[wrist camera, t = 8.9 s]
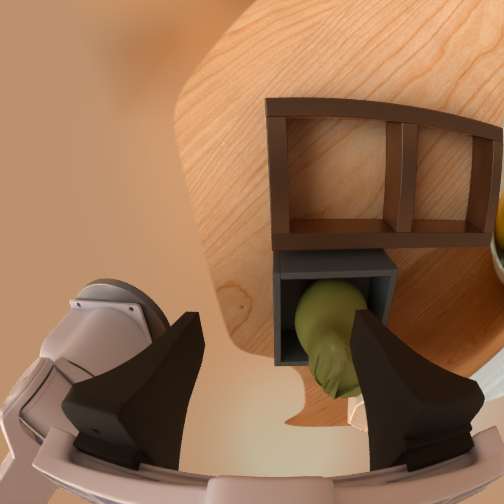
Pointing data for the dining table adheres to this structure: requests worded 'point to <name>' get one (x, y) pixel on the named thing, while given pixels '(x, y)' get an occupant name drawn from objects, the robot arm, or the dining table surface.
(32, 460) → the robot arm
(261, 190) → the dining table surface
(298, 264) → the tub
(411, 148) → the rack
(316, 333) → the olive cloth sack
